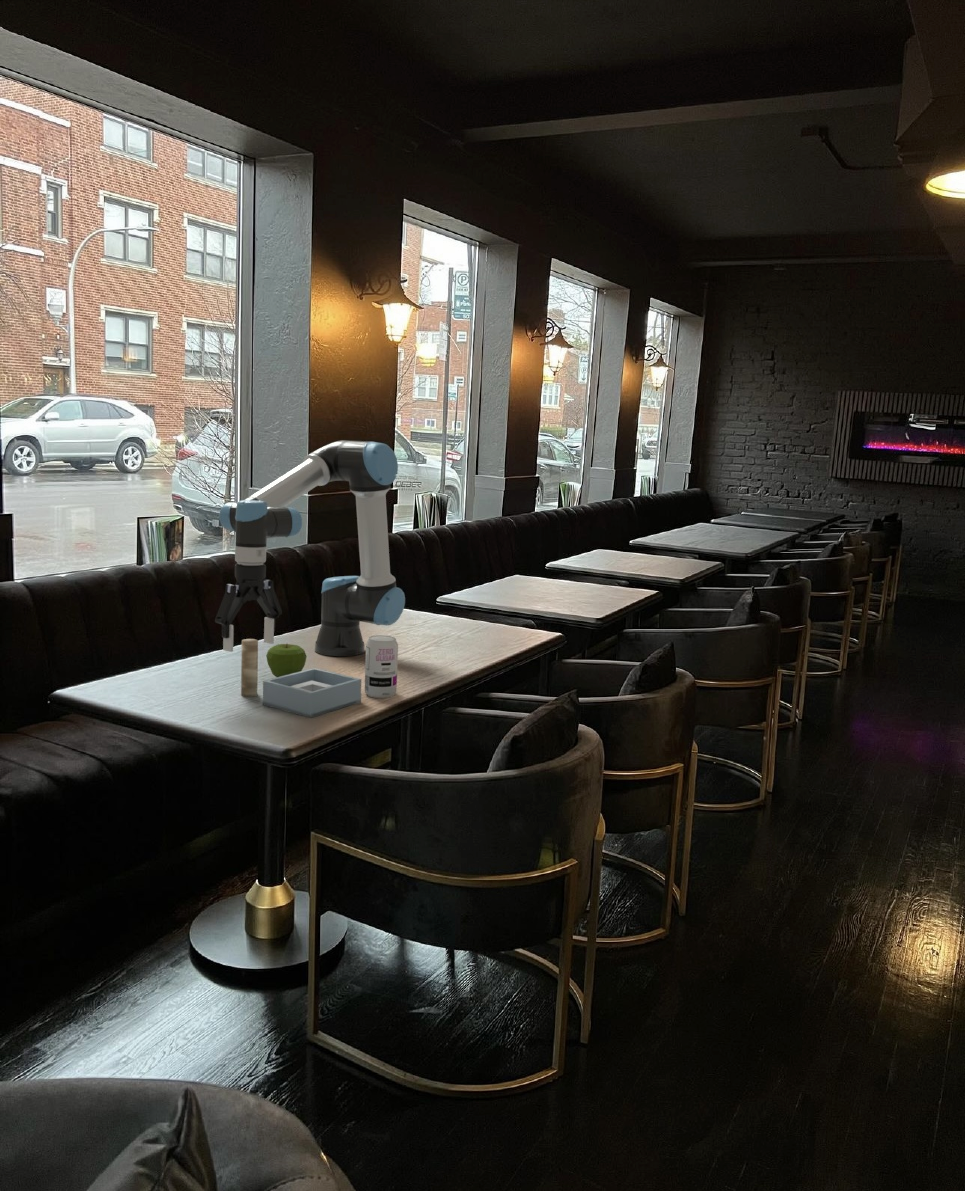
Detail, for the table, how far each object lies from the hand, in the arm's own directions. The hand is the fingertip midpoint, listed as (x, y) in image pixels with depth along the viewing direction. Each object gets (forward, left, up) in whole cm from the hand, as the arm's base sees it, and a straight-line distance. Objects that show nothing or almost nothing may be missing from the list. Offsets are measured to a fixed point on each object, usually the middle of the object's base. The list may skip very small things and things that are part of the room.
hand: (248, 646), depth 242 cm
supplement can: (+24, +23, -13) cm, 36 cm away
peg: (0, 0, -13) cm, 13 cm away
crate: (+17, +5, -12) cm, 22 cm away
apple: (-4, +17, -13) cm, 22 cm away
